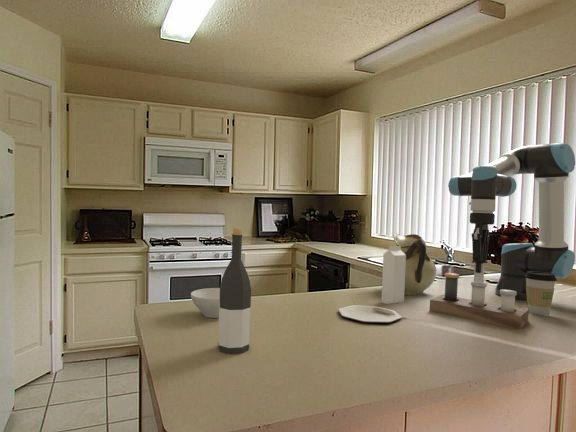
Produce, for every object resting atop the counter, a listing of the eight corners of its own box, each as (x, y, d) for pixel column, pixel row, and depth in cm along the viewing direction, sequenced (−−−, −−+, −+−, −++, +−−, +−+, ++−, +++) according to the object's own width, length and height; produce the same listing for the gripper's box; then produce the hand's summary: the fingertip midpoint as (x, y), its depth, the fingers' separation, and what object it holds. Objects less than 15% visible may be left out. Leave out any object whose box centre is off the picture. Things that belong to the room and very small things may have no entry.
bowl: (249, 312, 135) (250, 291, 135) (222, 324, 120) (222, 301, 120) (209, 306, 142) (210, 286, 141) (179, 316, 127) (180, 294, 127)
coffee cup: (559, 319, 140) (562, 276, 140) (528, 317, 142) (530, 274, 142) (547, 312, 150) (549, 272, 149) (518, 310, 152) (520, 270, 151)
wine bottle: (244, 356, 97) (248, 230, 96) (212, 352, 98) (216, 228, 97) (253, 344, 105) (257, 228, 104) (223, 341, 106) (226, 227, 105)
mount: (442, 307, 151) (442, 294, 151) (527, 324, 132) (528, 309, 132) (429, 313, 142) (430, 299, 142) (519, 332, 123) (520, 316, 123)
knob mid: (472, 306, 140) (473, 280, 140) (487, 309, 137) (488, 283, 137) (467, 309, 137) (469, 282, 137) (482, 312, 134) (484, 284, 133)
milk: (403, 304, 154) (407, 246, 153) (392, 306, 151) (395, 247, 150) (392, 300, 159) (395, 245, 159) (380, 302, 156) (383, 245, 156)
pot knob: (446, 297, 146) (447, 272, 146) (459, 299, 143) (461, 274, 143) (441, 299, 143) (442, 273, 142) (455, 301, 139) (456, 275, 139)
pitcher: (399, 284, 192) (402, 232, 191) (447, 294, 175) (450, 237, 174) (371, 291, 177) (373, 234, 176) (421, 302, 160) (424, 239, 159)
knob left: (500, 315, 135) (501, 288, 134) (516, 318, 131) (518, 291, 131) (496, 318, 131) (498, 290, 131) (513, 321, 128) (514, 293, 127)
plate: (409, 318, 137) (410, 313, 136) (379, 330, 122) (380, 325, 122) (360, 306, 150) (360, 302, 150) (327, 316, 135) (327, 311, 135)
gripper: (476, 212, 143) (472, 278, 144) (464, 211, 134) (460, 282, 134) (499, 213, 138) (495, 281, 139) (488, 212, 129) (484, 286, 129)
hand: (478, 282), depth 137 cm, fingers closed
